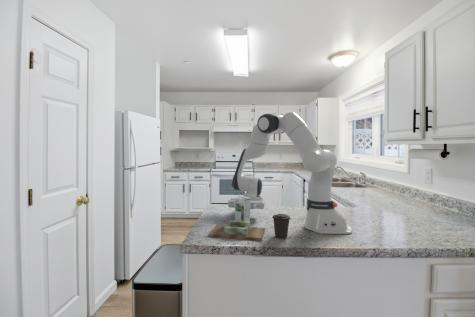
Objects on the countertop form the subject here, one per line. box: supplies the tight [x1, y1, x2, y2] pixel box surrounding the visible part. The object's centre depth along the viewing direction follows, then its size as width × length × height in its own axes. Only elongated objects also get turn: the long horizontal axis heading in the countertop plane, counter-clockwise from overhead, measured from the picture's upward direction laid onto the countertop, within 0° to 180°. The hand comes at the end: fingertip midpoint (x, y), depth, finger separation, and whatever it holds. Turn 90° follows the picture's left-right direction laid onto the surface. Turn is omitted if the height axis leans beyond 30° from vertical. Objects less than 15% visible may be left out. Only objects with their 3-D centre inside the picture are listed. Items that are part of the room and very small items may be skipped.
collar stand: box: [208, 220, 266, 242], centre depth 125 cm, size 24×14×4 cm, turn 79°
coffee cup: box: [272, 213, 291, 240], centre depth 121 cm, size 8×8×10 cm
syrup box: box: [234, 195, 251, 223], centre depth 137 cm, size 6×6×14 cm
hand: (244, 207), depth 142 cm, fingers open, 8 cm apart
